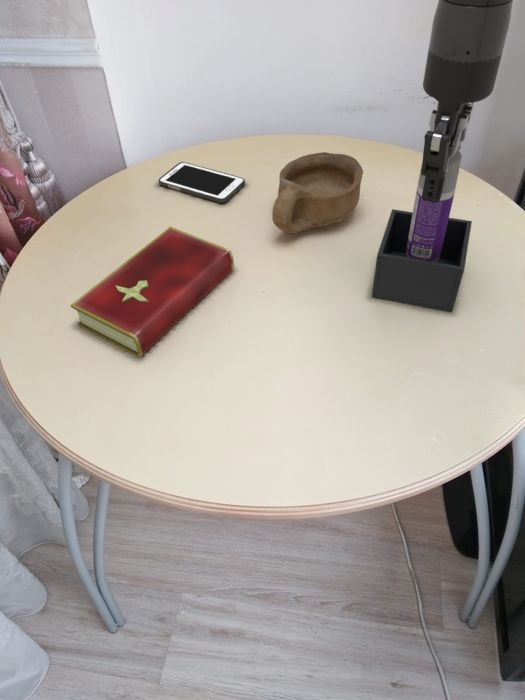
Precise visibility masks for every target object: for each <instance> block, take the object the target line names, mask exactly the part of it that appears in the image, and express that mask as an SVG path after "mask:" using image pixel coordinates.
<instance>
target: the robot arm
mask: <svg viewBox="0 0 525 700" xmlns="http://www.w3.org/2000/svg"><path fill="white" fill-rule="evenodd" d="M513 3H514V0H438V2H437V4H436V5H437V6H436V9H435V12H434V16H433V19H432V25H431V31H430V36H429V37H430V38H429V45H428V49H427V56H426V62H425V69H424V75H423V80H422V81H423V82H422V89H423V91H424V92H425V94H426V95H428V96H429V97H430V98H433V99H435V101H437V105H436V109H432V111H431V115H430V118H429V123H428V125H429V130H427V131H426V133H425V134H424V137H423V138H424V141H423V142H424V144H423V152H422V161H421V166H422V168H421V167H420V171H421V175H424V176H426V177H425V182H424V187H423V193H422V199H423V200H425V201H429V202H434V203H437V202H439V200H440V199H441V195H442V190H443V186H444V181H445V176H446V174H447V173H448V166H449V162H450V159H451V157H453V156H454V155H455V154H456V153H457V150H458V151H459V152H460V150H461V148H462V145H461V144H462V142H464V140H465V138H466V137H467V136H466V135H467V133H468V129H469V123H470V120H471V118H472V116H473V113H474V107H475V106H474V103H478V102H481V101H483V100H486V99H487V98H488V97H490V95H492V93H493V91H494V89H495V84H496V80H497V78H498V77H497V76H498V73H499V68H500V64H501V60H502V58H503V57H502V56H503V53H504V48H505V44H506V41H507V36H508V32H509V28H510V25H511V18H512V10H513V9H512V8H513ZM449 147H451V148H449ZM433 163H437V164H433Z"/></svg>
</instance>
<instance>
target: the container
mask: <svg viewBox="0 0 525 700" xmlns="http://www.w3.org/2000/svg"><path fill="white" fill-rule="evenodd" d="M449 148H451V147H449ZM462 157H463V155H462V153H461V152H460V150H459V151H458V150H457V153H456V154H455V155H454V156H453V157H451V159H450V162H449V166H448V173H447V174H446V176H445V181H444V186H443V190H442V195H441V199H440V200H439V202H437V203H434V202H429V201H425V200H423V199H422V193H423V187H424V182H425V177H426V176H424V175H421V170H420V171H419V175H418V176H419V177H418V181H417V186H416V191H415V197H414V202H413V209H412V212H413V214H412V220H411V226H410V231H409V237H408V243H407V249H406V256H407V257H408V258H414V259H419V260H425V261H431V262H437V261H438V260H439V258H440V254H441V250H442V245H443V241H444V237H445V232H446V228H447V224H448V219H449V218H450V215H451V210H452V206H453V202H454V198H455V193H456V188H457V183H458V177H459V172H460V168H461V163H462ZM433 164H437V163H433ZM421 168H422V165H421V167H420V169H421Z"/></svg>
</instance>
